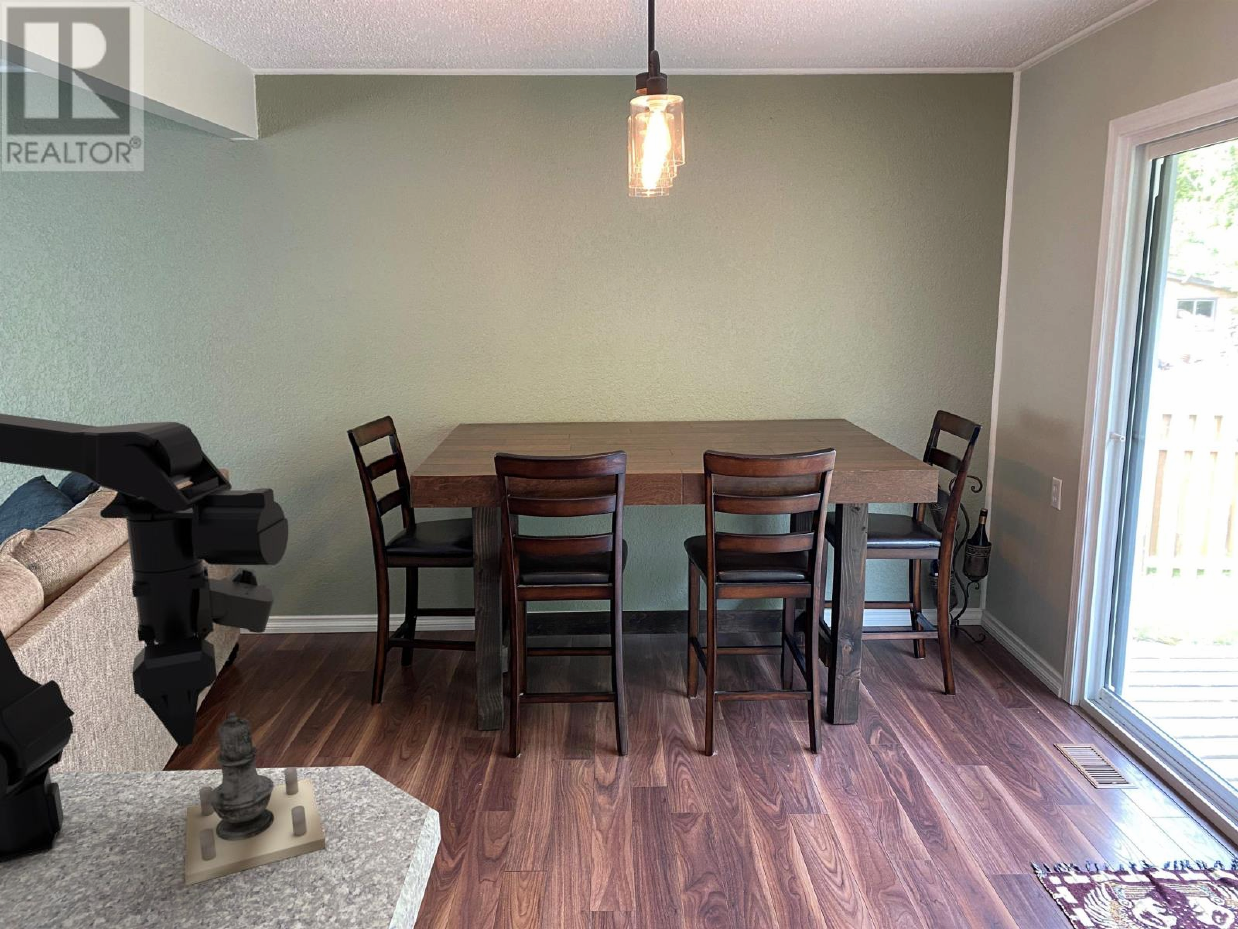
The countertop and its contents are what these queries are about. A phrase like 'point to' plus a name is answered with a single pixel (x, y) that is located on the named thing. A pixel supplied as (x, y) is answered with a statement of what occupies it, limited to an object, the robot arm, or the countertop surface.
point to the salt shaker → (240, 784)
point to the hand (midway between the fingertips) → (186, 722)
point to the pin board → (283, 839)
